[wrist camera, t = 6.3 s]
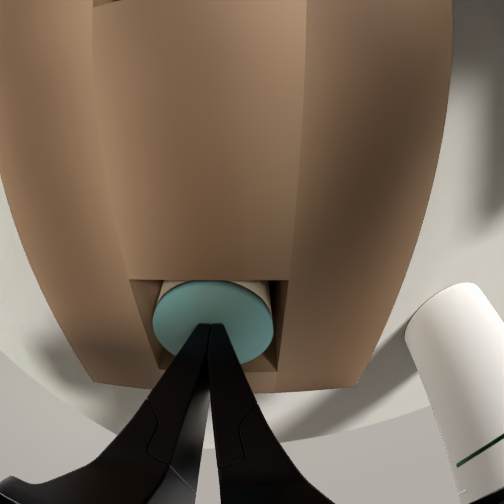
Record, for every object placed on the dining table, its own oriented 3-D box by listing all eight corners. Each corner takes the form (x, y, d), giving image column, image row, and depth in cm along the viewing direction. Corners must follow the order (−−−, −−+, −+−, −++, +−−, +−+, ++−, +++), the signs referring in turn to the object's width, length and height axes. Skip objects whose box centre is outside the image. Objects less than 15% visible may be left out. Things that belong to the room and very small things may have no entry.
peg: (265, 201, 13) (277, 287, 9) (262, 273, 16) (269, 366, 11) (175, 202, 13) (140, 286, 9) (184, 273, 16) (165, 365, 11)
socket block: (363, -76, 6) (427, -129, 1) (330, 297, 17) (356, 386, 12) (87, -64, 6) (13, -101, 1) (124, 297, 17) (93, 381, 12)
